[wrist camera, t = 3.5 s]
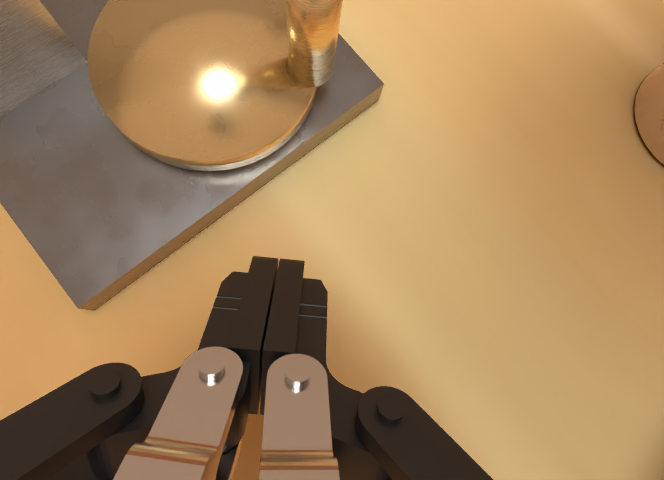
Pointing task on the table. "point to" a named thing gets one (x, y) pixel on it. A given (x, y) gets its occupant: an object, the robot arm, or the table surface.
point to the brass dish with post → (211, 74)
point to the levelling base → (118, 156)
